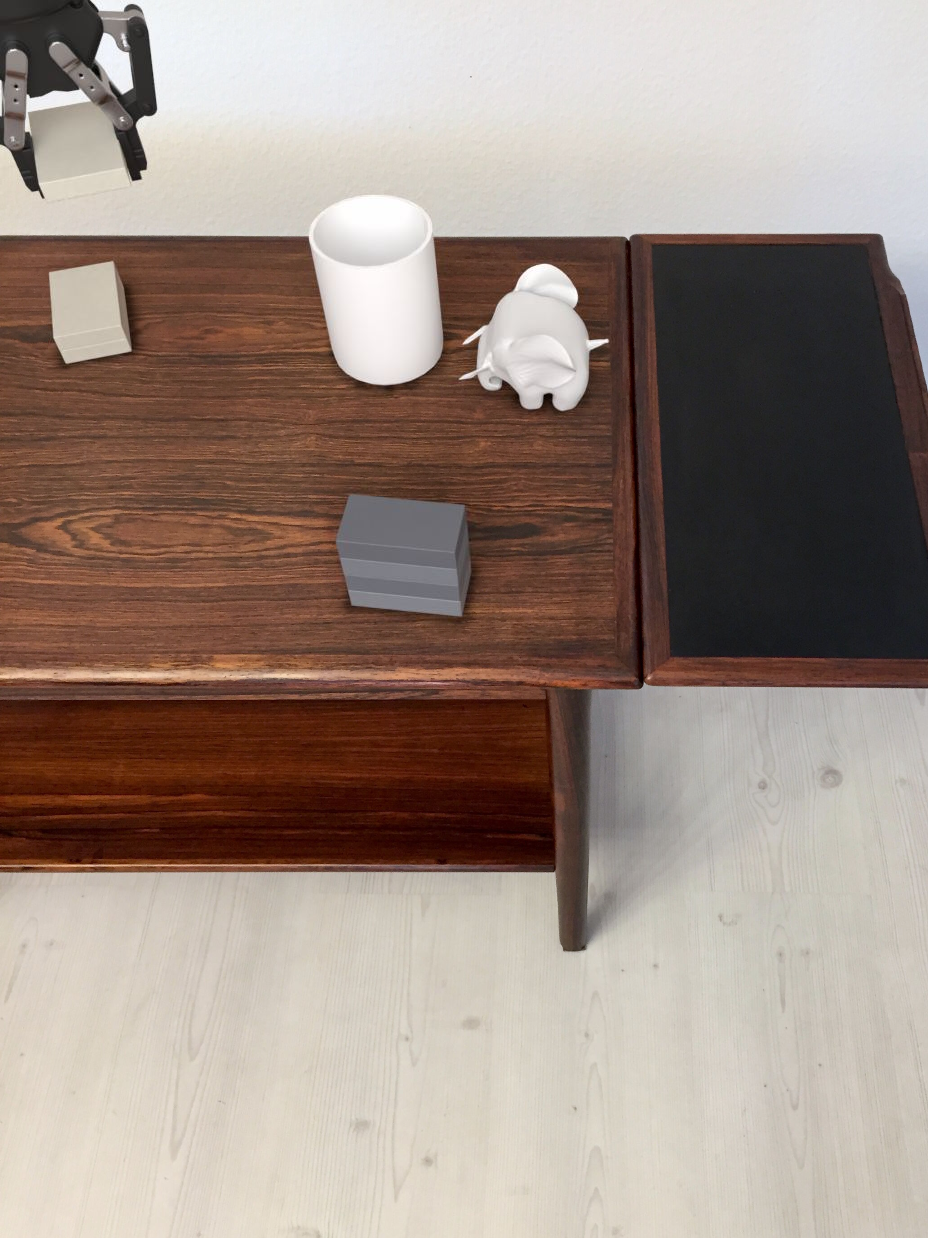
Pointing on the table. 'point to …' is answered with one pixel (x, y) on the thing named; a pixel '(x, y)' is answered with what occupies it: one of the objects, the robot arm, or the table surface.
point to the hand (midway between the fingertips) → (91, 182)
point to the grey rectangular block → (405, 554)
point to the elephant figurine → (536, 341)
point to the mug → (379, 287)
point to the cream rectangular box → (89, 312)
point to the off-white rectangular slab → (76, 152)
